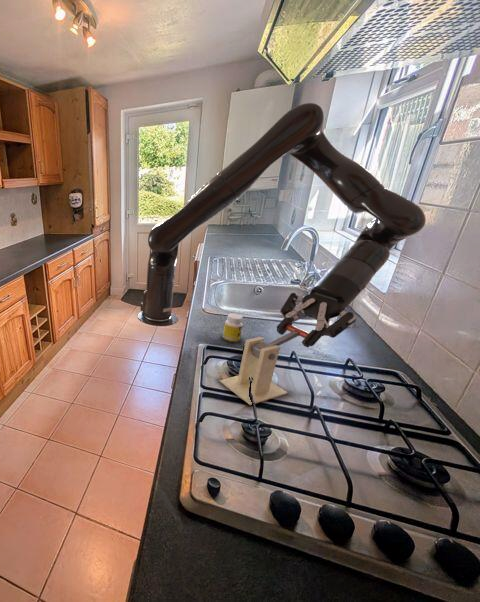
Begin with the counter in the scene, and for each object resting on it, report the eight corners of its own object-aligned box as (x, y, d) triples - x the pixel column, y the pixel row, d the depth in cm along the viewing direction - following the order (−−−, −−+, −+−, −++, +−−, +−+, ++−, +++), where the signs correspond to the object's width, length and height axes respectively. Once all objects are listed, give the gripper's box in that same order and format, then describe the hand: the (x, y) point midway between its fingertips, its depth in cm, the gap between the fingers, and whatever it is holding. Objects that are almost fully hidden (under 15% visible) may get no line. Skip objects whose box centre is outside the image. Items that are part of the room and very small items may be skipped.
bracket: (253, 374, 77) (264, 330, 72) (286, 396, 69) (300, 348, 64) (219, 384, 73) (227, 338, 69) (249, 408, 66) (261, 358, 61)
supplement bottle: (238, 346, 90) (243, 320, 87) (221, 342, 92) (225, 317, 89) (239, 339, 94) (244, 314, 91) (223, 335, 96) (227, 311, 93)
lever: (289, 329, 72) (290, 321, 71) (312, 340, 67) (313, 331, 66) (246, 351, 70) (246, 342, 69) (266, 363, 65) (267, 355, 64)
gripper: (305, 265, 73) (258, 318, 74) (376, 282, 60) (318, 346, 61) (315, 282, 76) (270, 333, 77) (384, 302, 64) (329, 362, 65)
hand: (291, 338), depth 69 cm, fingers closed on lever, 5 cm apart
